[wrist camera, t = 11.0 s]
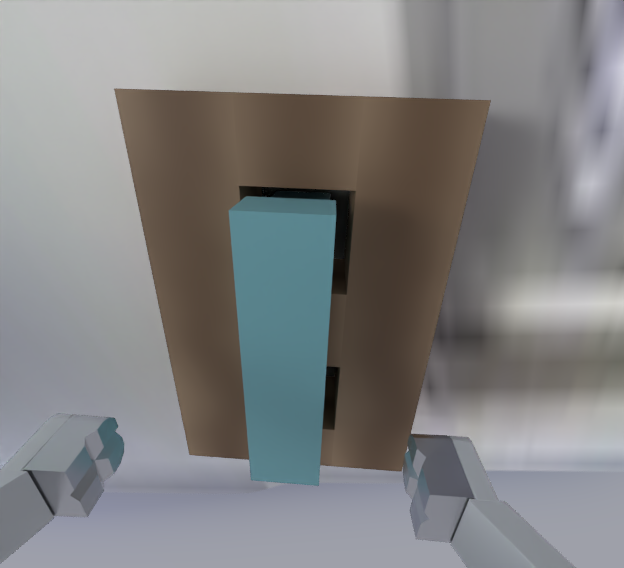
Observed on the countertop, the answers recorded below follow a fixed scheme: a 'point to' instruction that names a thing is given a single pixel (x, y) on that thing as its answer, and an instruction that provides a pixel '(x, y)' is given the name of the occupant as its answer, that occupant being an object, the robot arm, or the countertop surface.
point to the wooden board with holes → (346, 272)
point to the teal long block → (284, 327)
